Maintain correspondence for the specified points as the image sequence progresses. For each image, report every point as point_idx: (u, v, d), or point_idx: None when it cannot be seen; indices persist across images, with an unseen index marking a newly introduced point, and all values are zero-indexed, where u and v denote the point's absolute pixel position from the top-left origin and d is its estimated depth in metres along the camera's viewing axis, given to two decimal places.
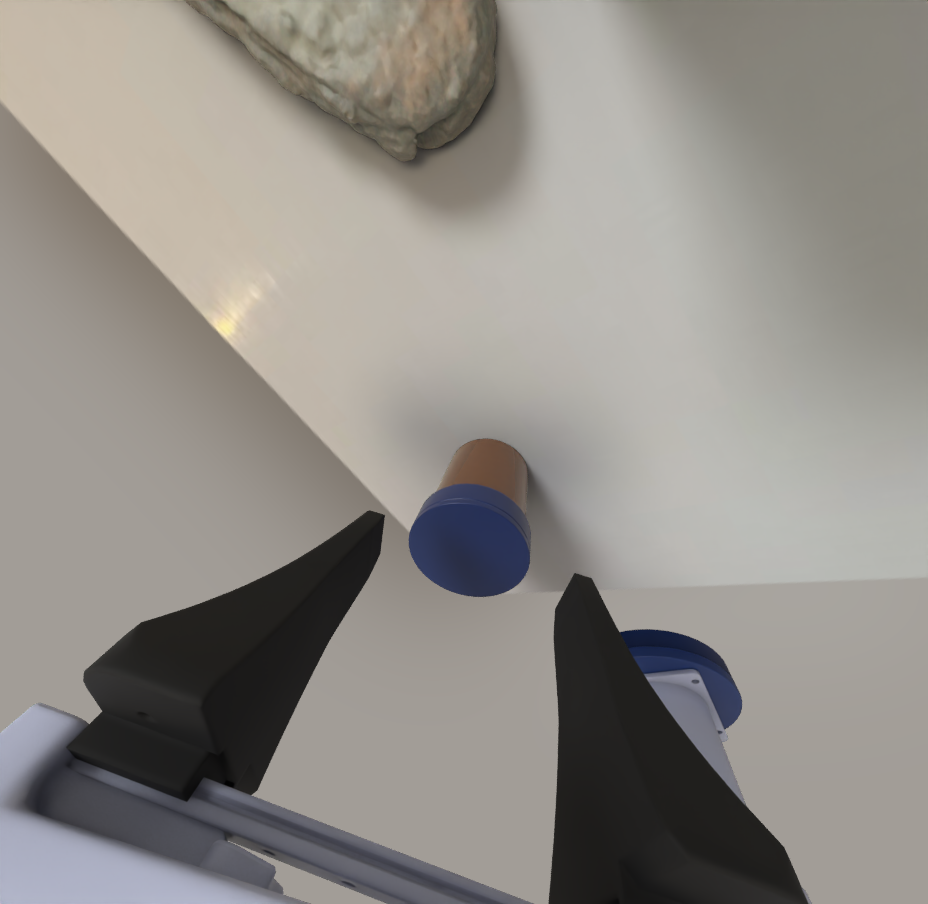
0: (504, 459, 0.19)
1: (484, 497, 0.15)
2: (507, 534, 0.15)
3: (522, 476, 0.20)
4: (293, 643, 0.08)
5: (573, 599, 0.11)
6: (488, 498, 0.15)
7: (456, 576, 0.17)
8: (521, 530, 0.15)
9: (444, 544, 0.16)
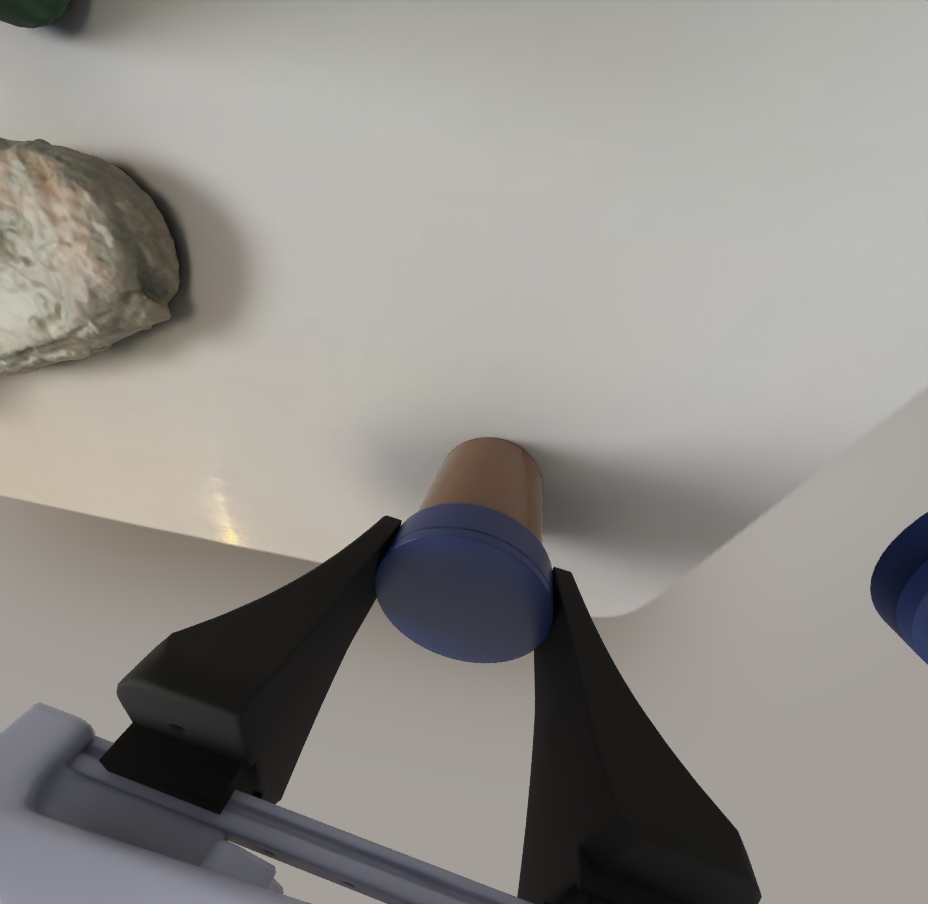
0: (463, 459, 0.15)
1: (411, 527, 0.11)
2: (462, 552, 0.10)
3: (498, 459, 0.14)
4: (318, 652, 0.08)
5: None
6: (416, 525, 0.11)
7: (484, 640, 0.11)
8: (474, 534, 0.10)
9: (430, 612, 0.11)
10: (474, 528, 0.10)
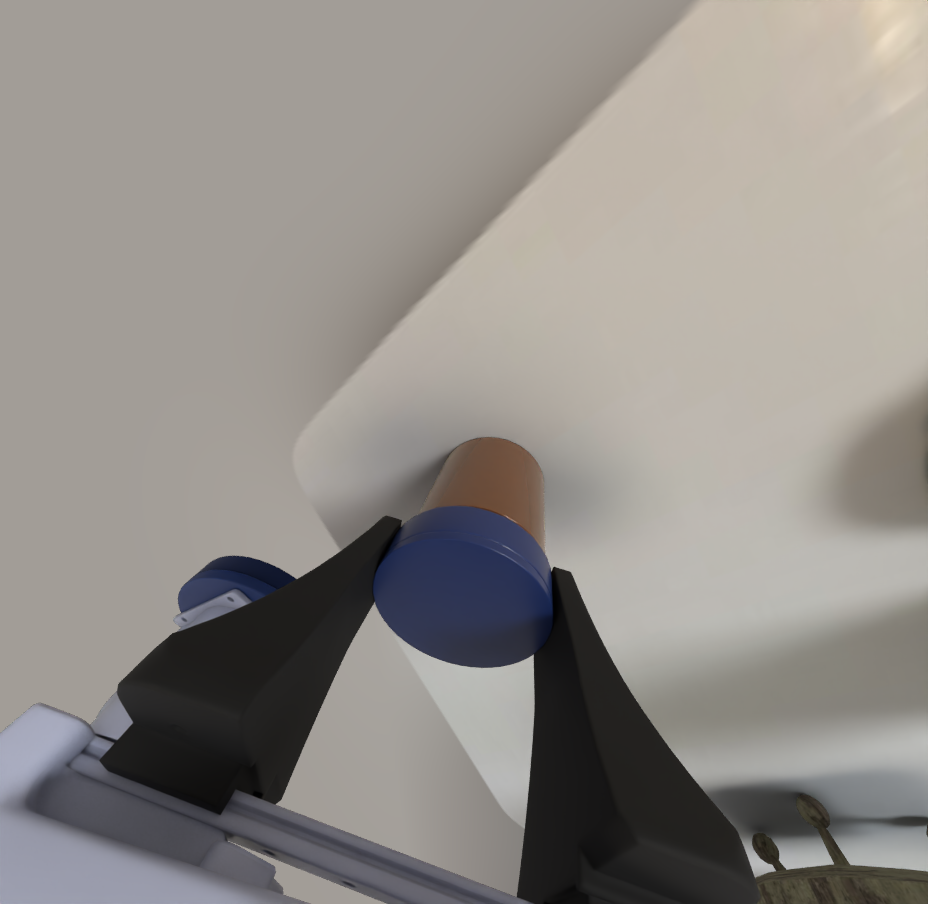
0: None
1: (411, 530, 0.11)
2: (463, 556, 0.10)
3: None
4: (318, 652, 0.08)
5: None
6: (416, 527, 0.11)
7: (482, 645, 0.11)
8: (476, 538, 0.10)
9: (427, 616, 0.11)
10: (475, 532, 0.10)
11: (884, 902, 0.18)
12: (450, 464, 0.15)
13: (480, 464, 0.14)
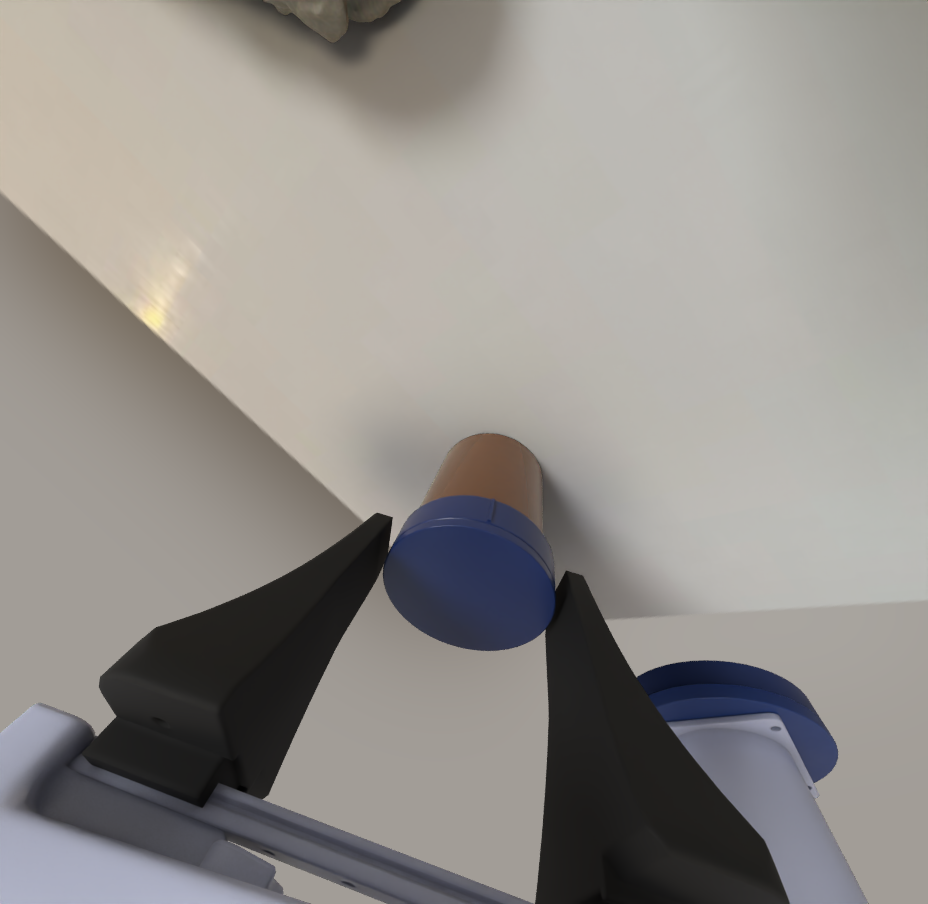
0: (507, 457, 0.15)
1: None
2: (398, 581, 0.12)
3: (534, 478, 0.15)
4: (304, 647, 0.08)
5: (564, 596, 0.11)
6: None
7: (511, 584, 0.11)
8: (385, 567, 0.12)
9: (480, 618, 0.12)
10: None
11: None
12: None
13: None
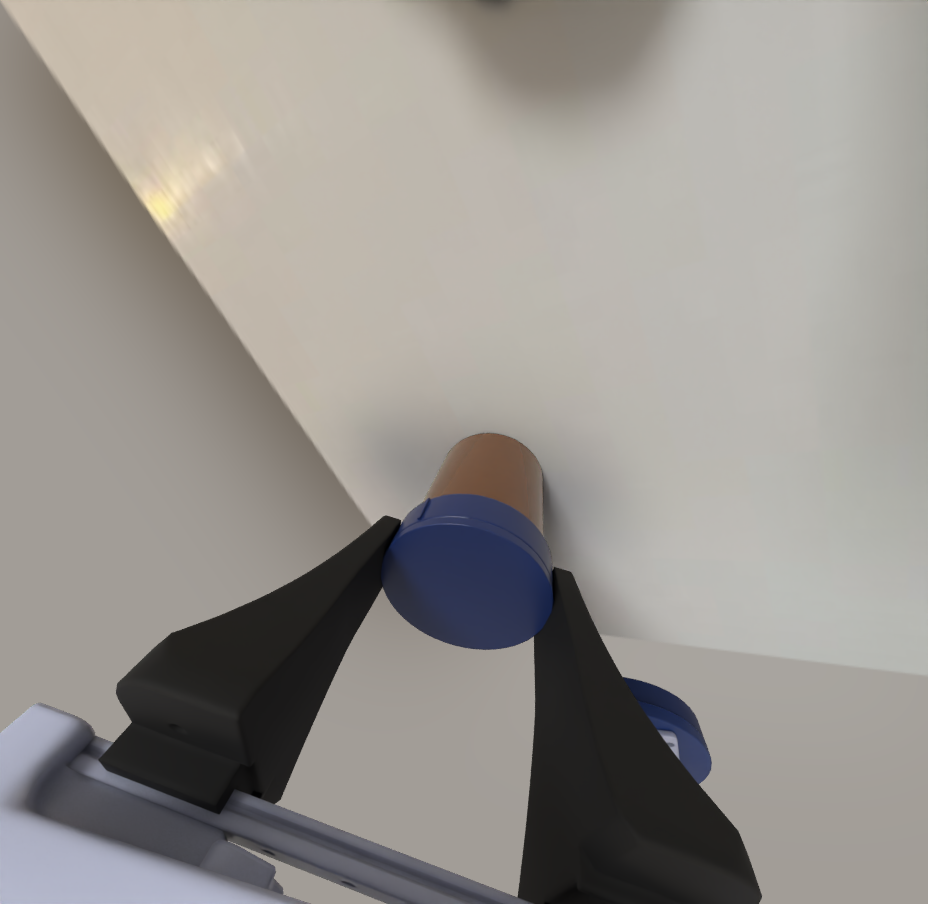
0: (522, 465, 0.15)
1: None
2: (414, 614, 0.12)
3: (541, 491, 0.15)
4: (317, 652, 0.08)
5: None
6: None
7: (479, 559, 0.10)
8: (401, 609, 0.13)
9: (495, 606, 0.11)
10: None
11: None
12: None
13: None
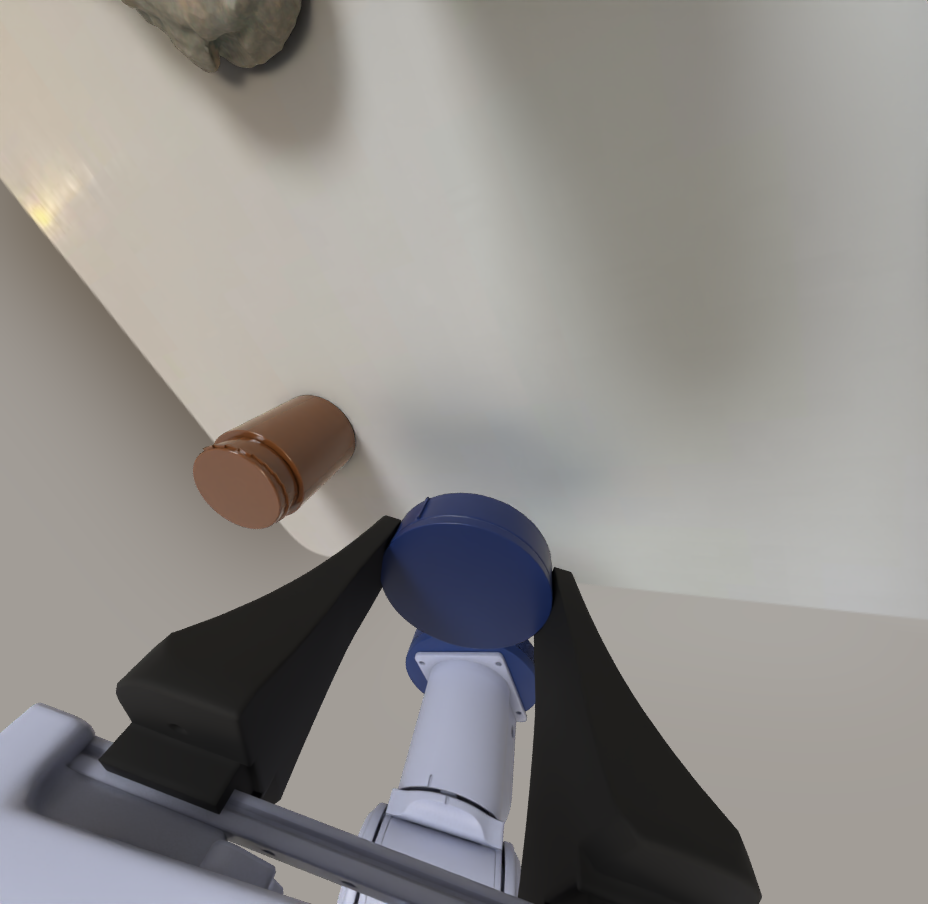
0: (315, 416, 0.19)
1: None
2: (413, 614, 0.12)
3: (333, 437, 0.20)
4: (318, 651, 0.08)
5: None
6: None
7: (478, 559, 0.10)
8: (400, 608, 0.13)
9: (494, 606, 0.11)
10: None
11: None
12: None
13: None
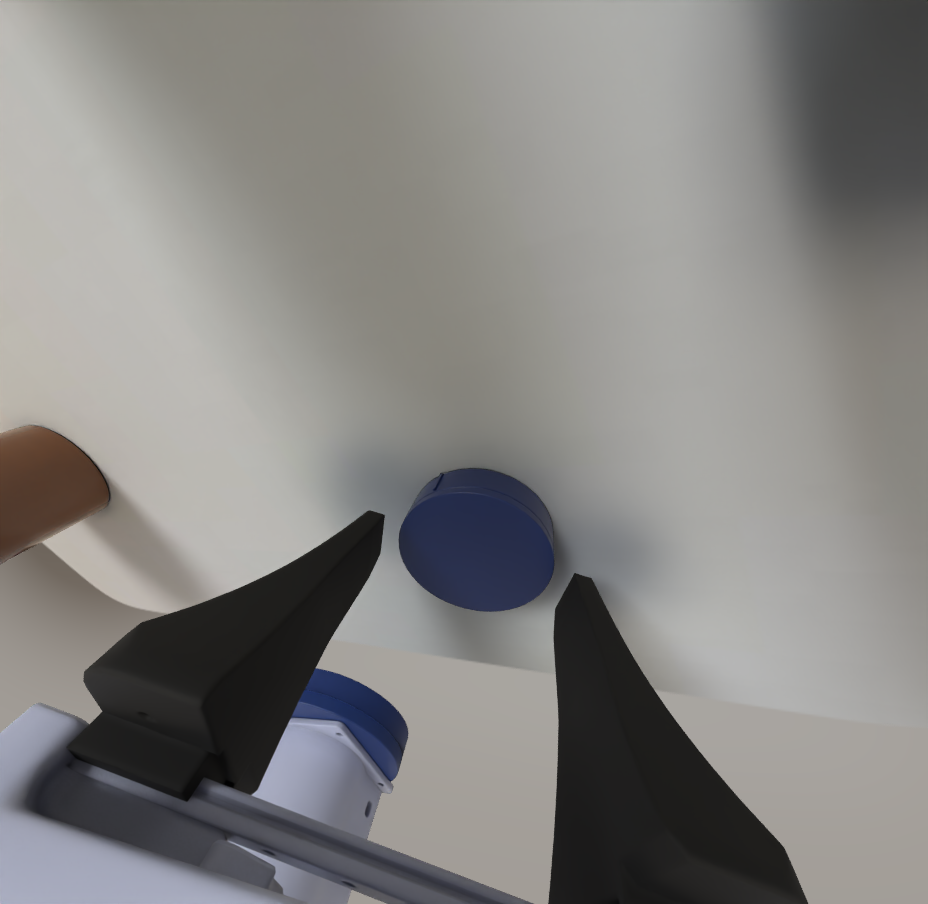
0: (8, 456, 0.15)
1: None
2: (428, 579, 0.14)
3: (38, 482, 0.15)
4: (293, 643, 0.08)
5: (573, 599, 0.11)
6: None
7: (488, 525, 0.12)
8: (416, 575, 0.14)
9: (502, 570, 0.13)
10: None
11: None
12: None
13: None
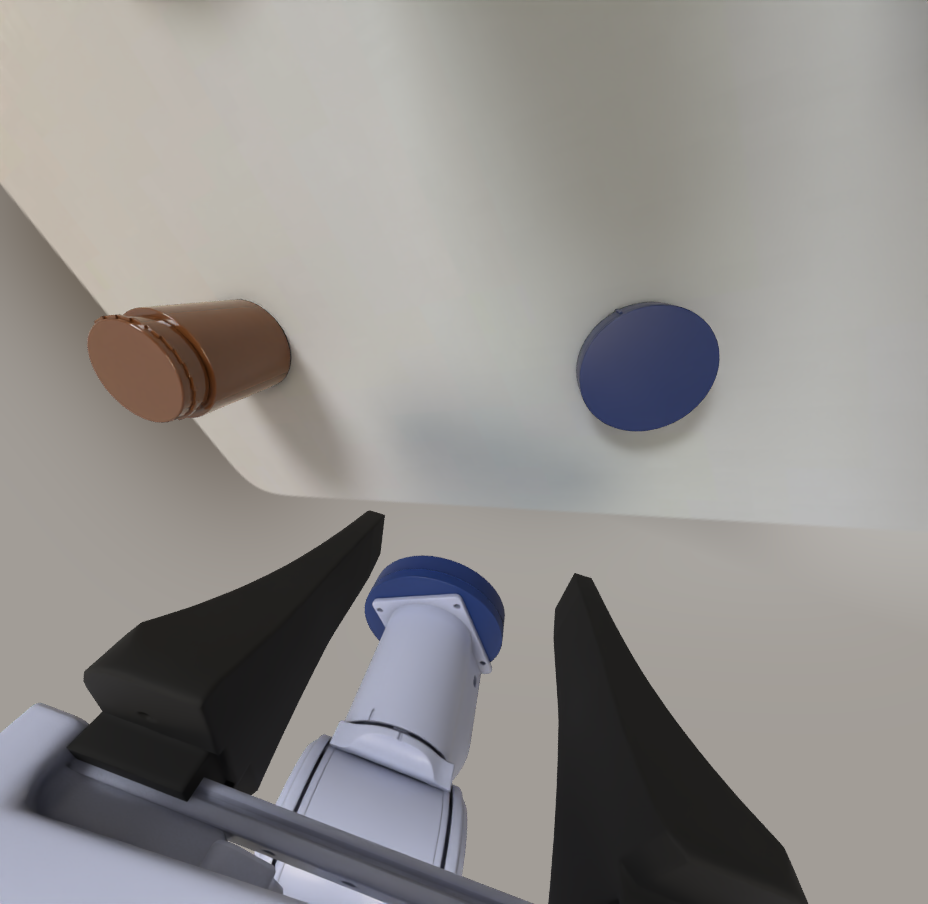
0: (237, 312, 0.18)
1: None
2: (599, 402, 0.17)
3: (258, 337, 0.18)
4: (293, 643, 0.08)
5: (573, 599, 0.11)
6: None
7: (668, 337, 0.15)
8: (585, 402, 0.17)
9: (669, 383, 0.16)
10: None
11: None
12: None
13: None
